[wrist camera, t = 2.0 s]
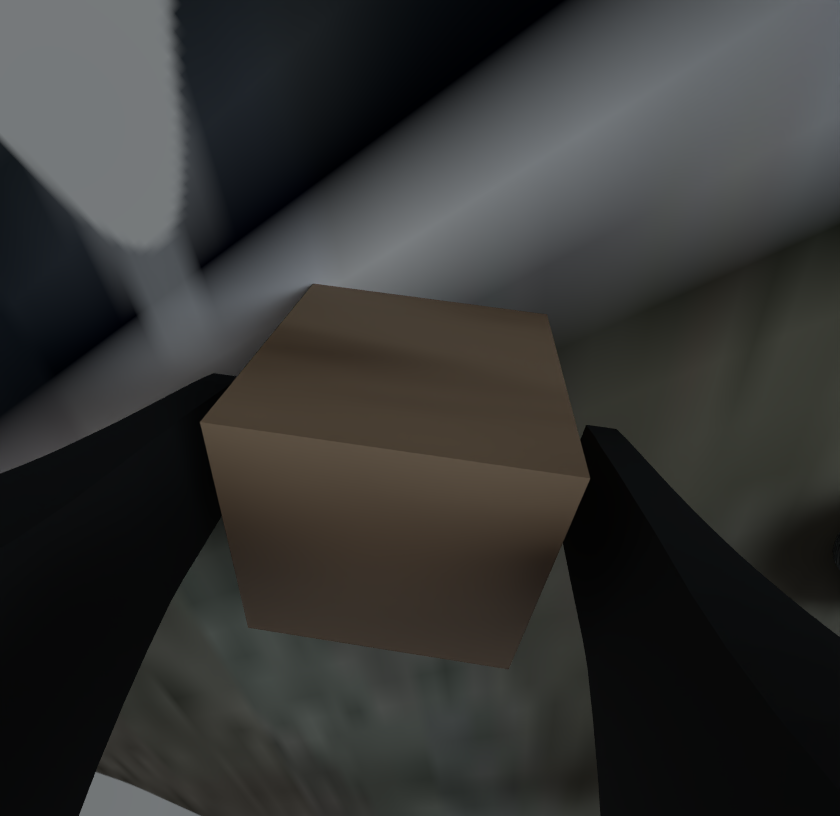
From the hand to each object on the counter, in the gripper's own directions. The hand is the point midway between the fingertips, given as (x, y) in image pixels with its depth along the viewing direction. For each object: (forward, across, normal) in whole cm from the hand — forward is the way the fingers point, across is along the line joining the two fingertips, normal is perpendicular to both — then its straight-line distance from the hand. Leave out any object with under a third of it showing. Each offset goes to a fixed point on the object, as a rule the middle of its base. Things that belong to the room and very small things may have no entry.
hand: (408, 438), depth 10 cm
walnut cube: (+2, 0, 0) cm, 2 cm away
